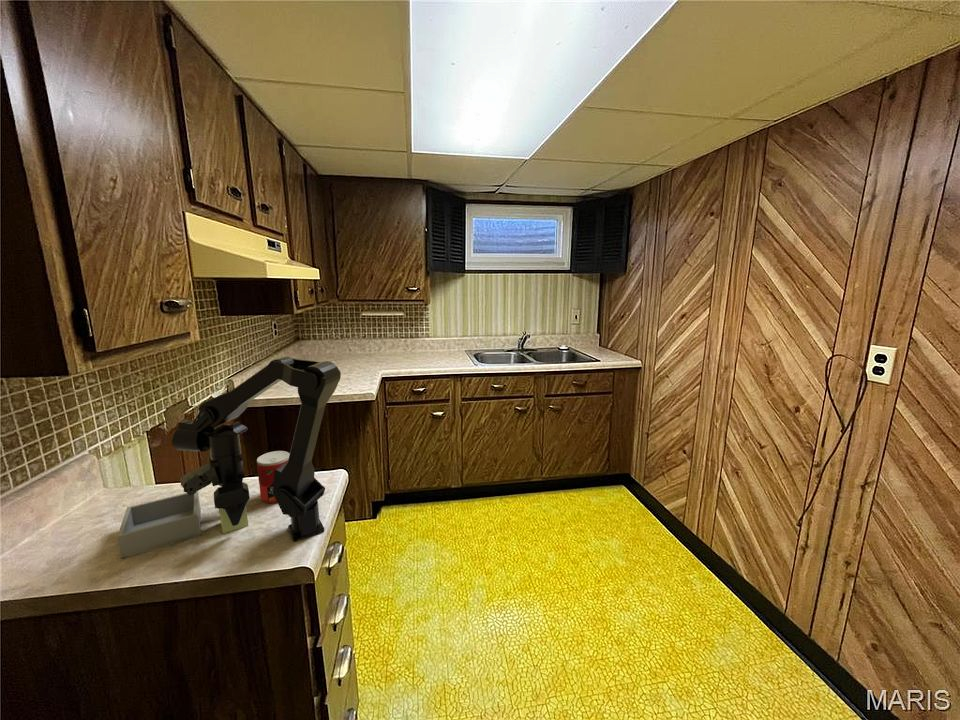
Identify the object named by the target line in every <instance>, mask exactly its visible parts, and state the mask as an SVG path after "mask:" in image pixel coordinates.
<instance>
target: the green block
mask: <svg viewBox="0 0 960 720" xmlns="http://www.w3.org/2000/svg"><path fill="white" fill-rule="evenodd" d="M218 510H219V517H220V525H221V532H222V534H225V533H229V532H232V531H236V530H239V529H243V528H246V527H249V520H248V519H249V517H248V512H247V511H248V510H247V505H246V506H245V508H244V511H243V513H242V516H241V519H240V521H239V524H238V525H235V526H232V523H231V521H230V519H229V517H228V515H227V513H226V511H225V509H222V508H221V509H218Z"/></svg>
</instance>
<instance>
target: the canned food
mask: <svg viewBox="0 0 960 720" xmlns="http://www.w3.org/2000/svg"><path fill="white" fill-rule="evenodd" d="M289 455H290V452H288V451H285V450H274V451H269V452H266V453H264V454H262V455H260V456H258V457H257V459H256V466H257V467H256V470H257V477H258V486H259V494H260V499H261V500H262V502H264V503H265V504H278V503H277V500H276V498H275V497H274V496H273V487H270V486H271V485H272V483H273V480H274V472H275V470H276V469H278V468H279V467H280V466H282V465H283V464H285V463H286V462H287V461H288V459H289Z"/></svg>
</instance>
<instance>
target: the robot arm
mask: <svg viewBox="0 0 960 720" xmlns="http://www.w3.org/2000/svg"><path fill="white" fill-rule="evenodd" d="M341 374H342V373H341V370H339V367H338V366H337V365H336V364H335V363H334V362H331V361H328V360H325V361H317V360H308V359H299V358H298V359H297V358H295V357H289V356H282V357H278V358H275V359H272V360H271V361H269V363H268V364H267V365H265V366H264V367H262V369H260V370H259V371H257V372H256V373H254V374H253V375H252V376H250V377H249V378H247V379H246V380H244V381H243V382H241V383H240V384H239V385H237V386H236V387H234V388H233V389H231V390H230V391H228V392H225V393H222V394H220V395H217V396H215V397H213V398H211V399H209V400H206V401H204V402H202V403H200V404H199V406H198V408H197V410H198V413H197V415H196V416H195V418H194V420H192V419H185V420H182V421H180V422H178V423H177V426H178V428H177V429H176V430H175V431H174V433H173V435H172V439H171V444H172V447H173V448H174V449H175V450H177V451H185V452H186V451H187V452H188V451H189V452H201V453H203V452H207V451H209V454H210V455H209V456H210V457H209V462H208V463H207V464H205V465H204V464H203V465H202V466H199V467H197V468H196V469H194V470H192V471H191V470H190V471H189V472H188V473H186V474H184V475H182V476H181V478H180V486H181V487H182V488H183V493H187V494H188V495H193V494H195V493H196V492H197V491H198V492H199V491H200V490H202V489H204V488H206V487H208V486H210V485H212V487H215V486H219V487H217V488H216V489H215V491H214V492H213V502H214V509H218V510H219V509H221V508H222V509H225V511H226V513H227V515H228V517H229V519H230V521H231V523H232V526H235V525H238V524H239V521H240V519H241V516H242V513H243V511H244V508H245V506H246V507H247V504H248V502H249V500H250V497H251V496H250V490H249V489H250V488H249V485H248V483H245V482H244V478H245V471H244V469H245V468H244V464H243V462H244V460H243V453H242V447H241V441H240V435H241V434H243V433H244V432H247V431H248V427H247V426H246V425H244V424H241V422H240V421H236V422H233V423H232V424H225V423H228V422H230V421H232V420H234V419H237V418H239V416H241V414H243V412H245V411H246V409H248V406H249V404H250V403H251V402H252V401H253V400H254V399H256V398H258V397H259V396H260V395H262V394H263V393H265V392H267V390H269V389H270V388H272V387H275V385H277V384H278V383H279V382H281V381H282V382H284V383H286V384H287V385H289V386H291V387H294V388H297V394H298V397H299V400H300V407H299V412H298V413H299V414H298V417H297V420H296V422H297V423H296V424H295V425H296V426H295V430H294V433H293V434H294V435H293V438H292V442H291V448H290V449H289V450H290V451H289V454H290V455H289V459H288V461H287V462H286V463H285V464H283V465H282V466H280V467H279V468H278V469H276V470H275V472H274V480H273V483H272V485H271V486H270V487H273V496H274V497H275V498H276V500H277V503H276V504H278V506H279V509H280V511H281V513H282V515H286V516H289V518H290V521H291V522H290V523H291V524H288V527H287V529H288V531H289V535H290V536H291V537H290V538H291V539H292V541H293V542H298V541H300V540H303V539H306V538H309V537H312V536H314V535H319V534H320V533H323V532H325V527H324V525H323V523H322V521H321V519H320V511H319V502H318V501H319V500H320V498H322V497H323V496H324V494H325V491H326V487H325V486H324V485H323V484H322V483H321V482H320V481H319V480H317V479H316V477H315V471H316V470H315V467H314V465H313V457H314V452H315V449H316V445H317V440H318V438H319V437H318V436H319V433H320V429H321V425H322V420H323V416H324V413H325V408H326V405H327V403H328V402H329V400H330V399H331V398H332V395H333V394H334V393H335V391H336V389H337V386H338V385H339V383H340V380H341Z"/></svg>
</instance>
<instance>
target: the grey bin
mask: <svg viewBox="0 0 960 720" xmlns="http://www.w3.org/2000/svg"><path fill="white" fill-rule="evenodd" d="M201 513H202V511H201V502H200V496H199V491H197V492H196V493H195V494H193V495H188V494H187V492H183V493H180V494H176V495H171V496H167V497H164V498H160V499H156V500H151V501H147V502H142V503H139V504H134V505H131V506H130V505H129V506H126V509H125V512H124V516H123V518H122V520H121V521H122V522H121V525H120V527H119V530H118V534H117V535H116V538H117V544H118V549H119V555H120V558H121V559H120V560H122V559H123V560H124V559H126V558H130V557H133V556H137V555H139V554H143V553H147V552H150V551H153V550H156V549H160V548H163V547H166V546H169V545H173V544H176V543H181V542H183V541H186V540H190V539H193V538H197V537H200V536H201V532H202V531H201V529H202V528H201V517H202V515H201Z"/></svg>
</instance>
